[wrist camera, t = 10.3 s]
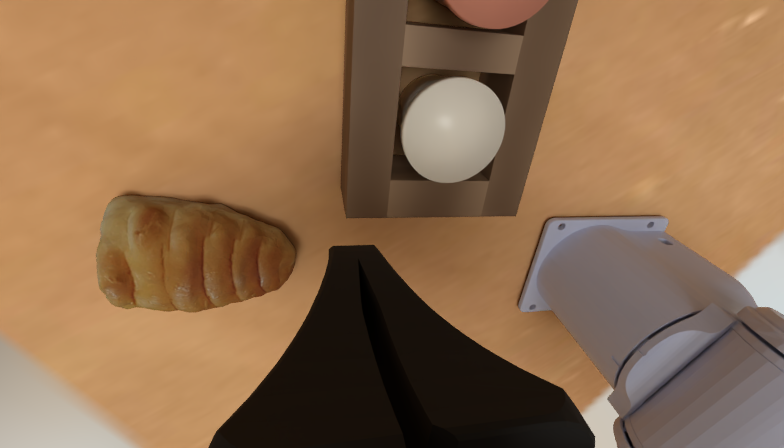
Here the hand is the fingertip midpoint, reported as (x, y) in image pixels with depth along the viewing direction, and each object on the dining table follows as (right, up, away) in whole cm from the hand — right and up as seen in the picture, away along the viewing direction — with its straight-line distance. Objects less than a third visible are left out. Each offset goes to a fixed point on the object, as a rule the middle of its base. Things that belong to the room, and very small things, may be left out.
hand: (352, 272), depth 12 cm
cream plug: (+3, +7, +8) cm, 12 cm away
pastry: (-10, +1, +10) cm, 14 cm away
